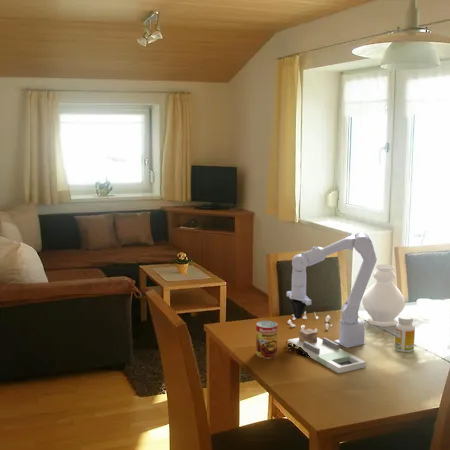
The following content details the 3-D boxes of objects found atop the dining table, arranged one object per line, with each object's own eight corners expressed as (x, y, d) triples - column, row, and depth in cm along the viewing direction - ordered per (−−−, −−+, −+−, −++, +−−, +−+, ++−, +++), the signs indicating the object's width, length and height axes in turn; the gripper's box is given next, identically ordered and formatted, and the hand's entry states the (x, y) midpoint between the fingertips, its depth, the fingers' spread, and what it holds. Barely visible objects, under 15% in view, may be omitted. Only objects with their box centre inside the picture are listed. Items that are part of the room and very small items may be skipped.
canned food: (261, 359, 234) (262, 328, 232) (252, 352, 241) (252, 322, 239) (280, 356, 237) (281, 325, 235) (270, 349, 244) (271, 319, 242)
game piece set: (325, 317, 284) (325, 309, 284) (338, 332, 265) (339, 323, 264) (282, 319, 282) (283, 310, 281) (293, 334, 262) (293, 325, 262)
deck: (312, 339, 255) (313, 330, 254) (365, 367, 227) (365, 356, 226) (287, 344, 249) (288, 334, 248) (338, 373, 221) (339, 362, 221)
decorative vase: (408, 328, 268) (411, 271, 264) (366, 328, 268) (368, 271, 264) (397, 315, 285) (400, 261, 281) (358, 315, 286) (360, 261, 281)
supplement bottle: (415, 347, 246) (416, 315, 244) (412, 353, 240) (413, 321, 238) (396, 344, 249) (397, 313, 247) (393, 350, 243) (394, 318, 241)
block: (309, 338, 251) (309, 328, 250) (317, 342, 246) (317, 332, 246) (299, 340, 248) (299, 330, 248) (306, 344, 244) (306, 334, 243)
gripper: (280, 281, 254) (279, 314, 257) (301, 290, 242) (300, 324, 244) (294, 279, 257) (294, 311, 260) (316, 288, 245) (315, 321, 247)
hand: (298, 317), depth 252 cm, fingers closed
